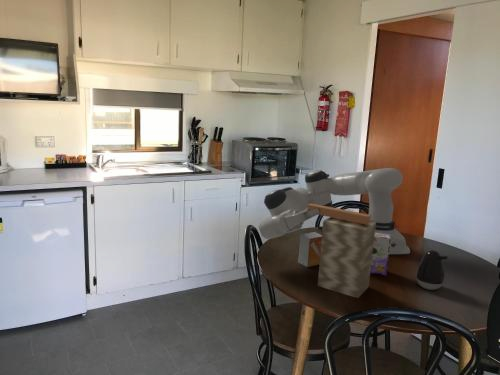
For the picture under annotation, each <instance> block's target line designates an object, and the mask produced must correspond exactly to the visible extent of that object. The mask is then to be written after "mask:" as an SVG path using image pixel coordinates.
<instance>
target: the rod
mask: <svg viewBox="0 0 500 375" xmlns="http://www.w3.org/2000/svg"><path fill="white" fill-rule="evenodd" d="M317 208H319V209H320V212H319V213H317V214H318V215H319V216H325V217H328V218H330V217H333V218H337V219H342V220H347V221H352V222H356V223H361V224H366V225H368V224H369V223H370V217H371V215H368V214H369V213H362V212H357V211H353V210H352V211H351V210H347V209H342V208H337V207H333V206H332V207H327V206H322V205H317V204H312V203H310V204H308V205H307V210H308V211H311V210H314V209H317ZM308 211H307V212H308ZM318 215H317V216H318Z"/></svg>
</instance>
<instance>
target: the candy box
mask: <svg viewBox="0 0 500 375" xmlns="http://www.w3.org/2000/svg"><path fill="white" fill-rule="evenodd" d="M390 240H391V234H382V233H375V236H374V245H373V254H372V262H371V271H370V274H374V275H375V274H376V275H381V276H387V274H388V267H389V266H388V265H389V258H390V254H389V250H390Z"/></svg>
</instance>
